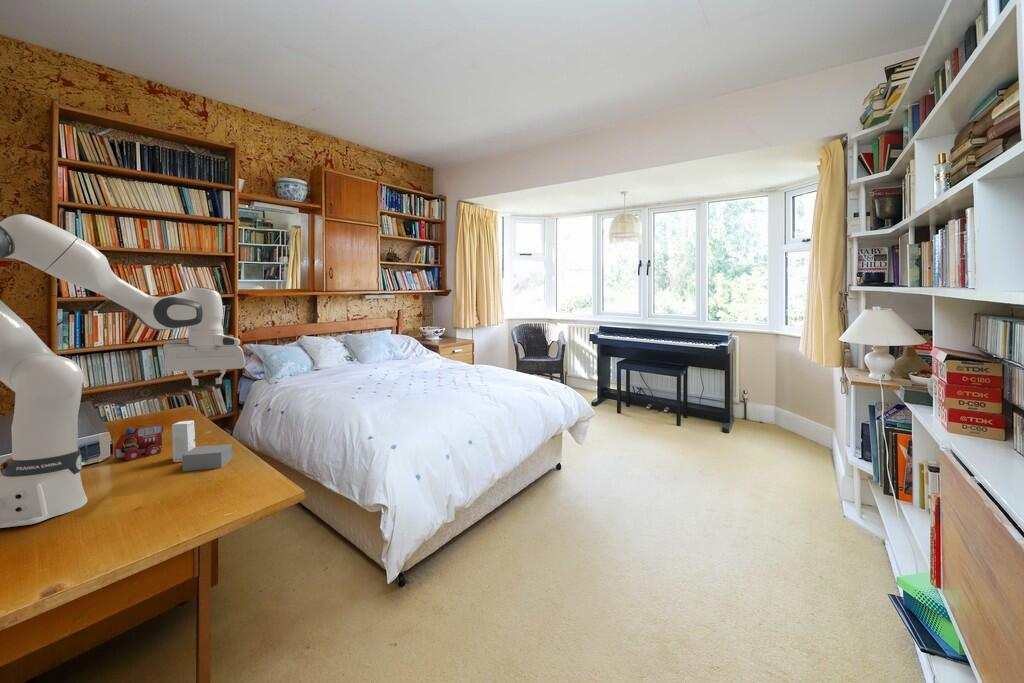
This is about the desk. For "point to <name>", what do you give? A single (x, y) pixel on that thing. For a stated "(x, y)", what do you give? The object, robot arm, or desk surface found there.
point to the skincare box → (182, 439)
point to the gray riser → (207, 457)
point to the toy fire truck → (139, 442)
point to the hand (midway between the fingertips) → (207, 384)
